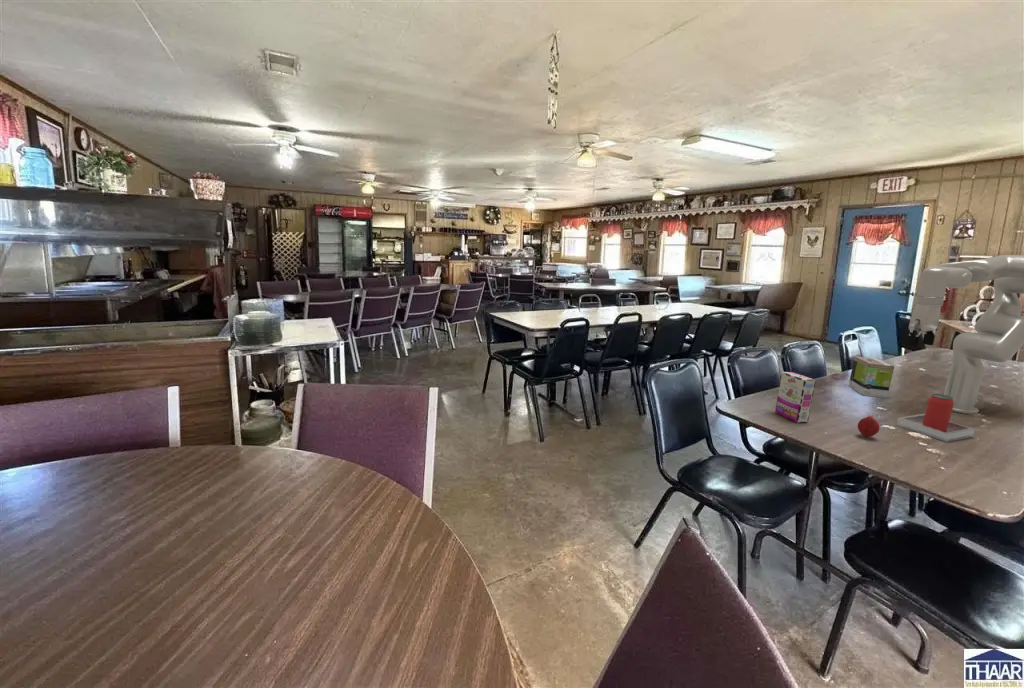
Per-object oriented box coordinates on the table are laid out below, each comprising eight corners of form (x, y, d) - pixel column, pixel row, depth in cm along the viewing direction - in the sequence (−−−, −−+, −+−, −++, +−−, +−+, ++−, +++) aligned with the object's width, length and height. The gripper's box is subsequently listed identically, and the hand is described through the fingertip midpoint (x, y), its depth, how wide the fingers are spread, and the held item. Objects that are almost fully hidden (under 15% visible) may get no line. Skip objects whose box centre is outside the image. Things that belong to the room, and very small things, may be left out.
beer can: (947, 433, 159) (956, 400, 156) (922, 428, 163) (930, 396, 160) (946, 428, 164) (954, 396, 161) (921, 423, 168) (929, 392, 165)
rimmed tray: (922, 421, 173) (924, 413, 172) (972, 437, 159) (974, 429, 158) (896, 425, 167) (898, 417, 167) (946, 442, 154) (948, 433, 153)
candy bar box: (809, 422, 167) (817, 379, 163) (797, 423, 166) (805, 380, 162) (785, 411, 178) (792, 371, 174) (774, 412, 177) (781, 371, 173)
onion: (877, 442, 152) (883, 419, 150) (856, 437, 155) (861, 415, 153) (875, 436, 157) (880, 414, 155) (854, 432, 160) (859, 410, 158)
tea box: (888, 398, 199) (895, 365, 196) (861, 395, 201) (868, 363, 198) (872, 388, 213) (879, 357, 210) (847, 386, 216) (853, 355, 212)
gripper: (930, 299, 179) (921, 341, 183) (904, 300, 172) (895, 345, 176) (954, 301, 172) (944, 345, 176) (928, 303, 166) (918, 349, 169)
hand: (920, 345), depth 176 cm, fingers open, 9 cm apart
